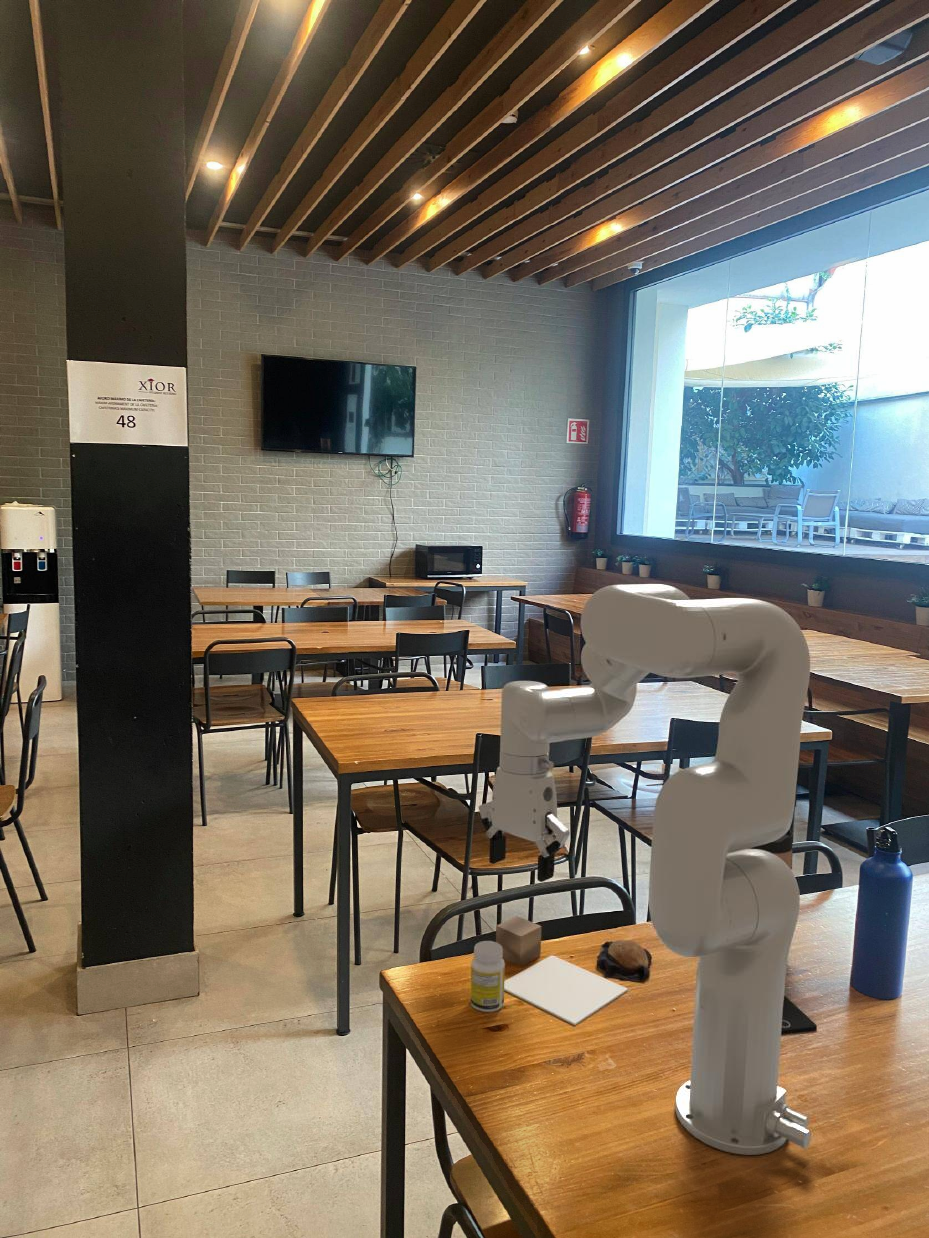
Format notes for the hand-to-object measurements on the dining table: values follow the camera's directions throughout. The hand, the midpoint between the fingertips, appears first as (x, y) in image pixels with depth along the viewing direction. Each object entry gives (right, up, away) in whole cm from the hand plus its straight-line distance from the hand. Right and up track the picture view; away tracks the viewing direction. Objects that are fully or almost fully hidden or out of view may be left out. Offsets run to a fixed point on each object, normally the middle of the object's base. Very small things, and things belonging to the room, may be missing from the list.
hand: (520, 870), depth 138 cm
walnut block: (0, -14, +2) cm, 14 cm away
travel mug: (+39, -15, +6) cm, 42 cm away
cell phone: (+33, -17, -9) cm, 38 cm away
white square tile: (+6, -15, -8) cm, 18 cm away
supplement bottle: (-6, -16, -12) cm, 21 cm away
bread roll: (+16, -15, 0) cm, 22 cm away
